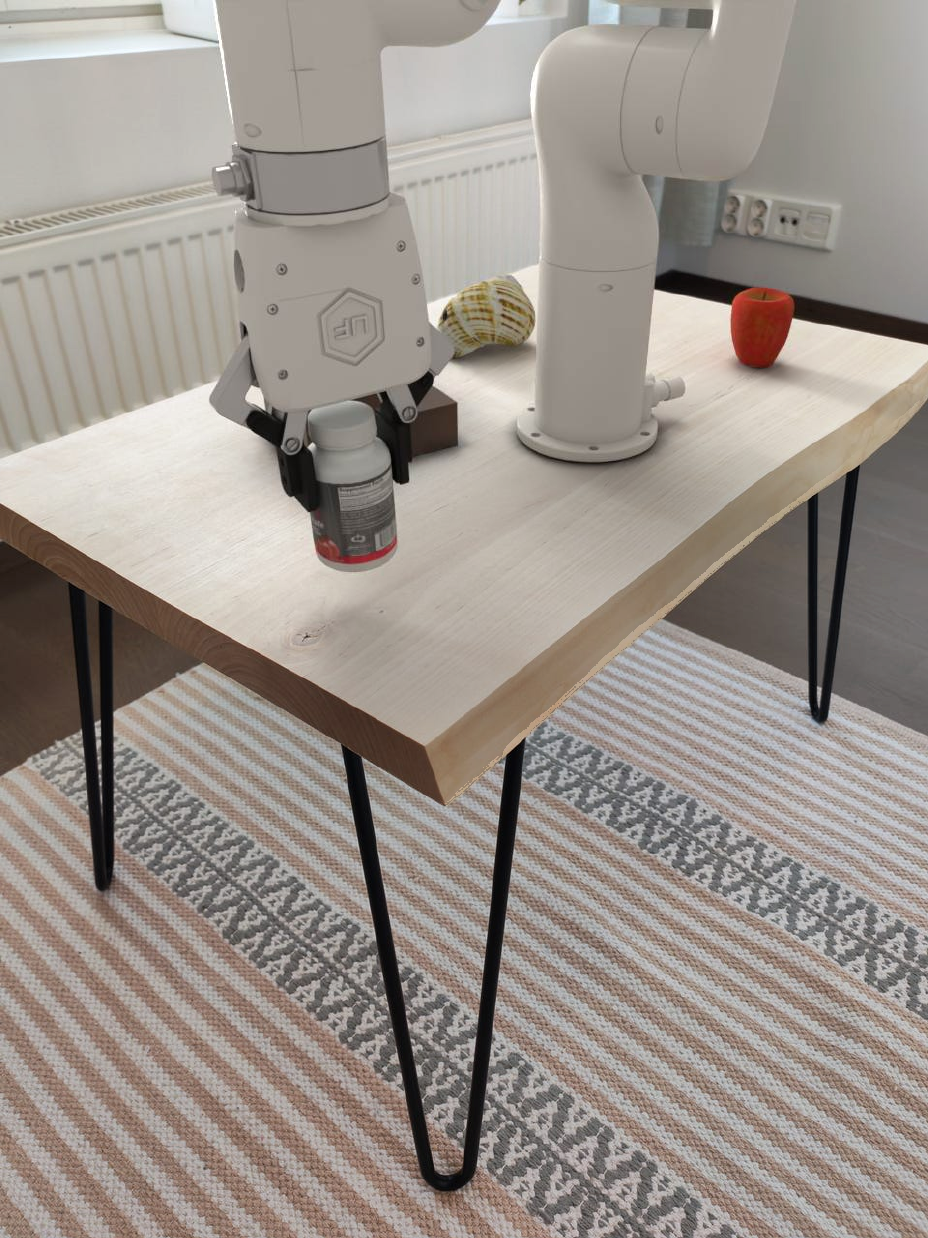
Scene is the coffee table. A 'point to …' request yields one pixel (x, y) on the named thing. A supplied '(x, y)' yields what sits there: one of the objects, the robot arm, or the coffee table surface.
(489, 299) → the seashell
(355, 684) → the coffee table surface
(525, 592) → the coffee table surface
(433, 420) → the step shelf
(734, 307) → the apple
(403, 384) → the robot arm
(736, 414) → the coffee table surface
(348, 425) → the pill bottle
